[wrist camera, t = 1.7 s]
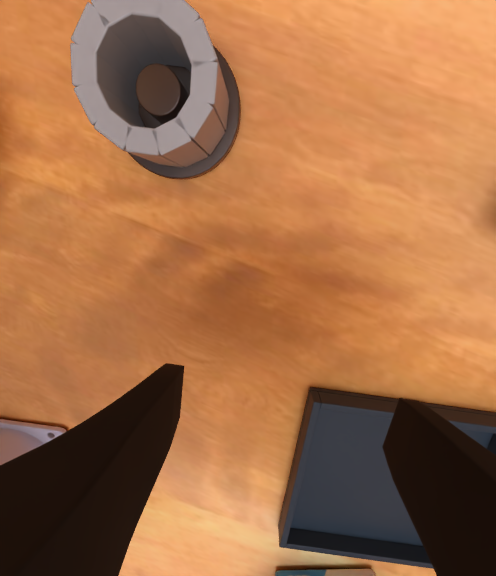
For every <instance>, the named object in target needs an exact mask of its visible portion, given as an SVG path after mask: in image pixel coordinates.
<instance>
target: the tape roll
mask: <svg viewBox="0 0 496 576" xmlns="http://www.w3.org/2000/svg"><path fill="white" fill-rule="evenodd" d="M91 2H92V4H90V3H89V2H88V3H87V5H86V7H85V9H84V11H83V13H82V15H81V18H80V20H79V22H78V24H77V26H76V28H75V31H74V33H73V35H72V37H71V40H72V41H73V42H74V43H71V69H72V84H73V85H74V86H75V88H74V91H75V93H76V95H77V97H78V99H79V101H80V103H81V105H82V107H83V109H84V111H85V113H86V115H87V117H88V119H89V121H90V123H91V124H92V125H94V128H95V129H96V130H97V131H98V132H100V133H101V134H102V135H104V136H105V137H106V138H107V139H109V140H110V141H111V142H113V143H114V144H115V145H116V146H118V147H119V148H120V149H122V150H124V151H127V152H129V153H131V154H134V155H137V156H139V157H142V158H144V159H147V160H149V161H152V162H154V163H157V164H160V165H167V166H174V167H181V168H182V167H183V166H184V167H188V166H190V165H192V164H194V163H196V162H198V161H201V160H203V159H205V158H207V157H208V154H209V155H211V153H212V152H213V150H214V149H215V147H216V146H217V144H218V143H219V141H220V140H221V138H222V137H223V135H224V134H225V131H224V130H226V128H227V118H228V108H229V98H228V92H227V89H226V86H225V82H224V79H223V75H222V72H221V69H220V65H219V62H218V58H217V56H216V53H215V50H214V48H213V45H212V42H211V40H210V37H209V34H208V32H207V29H206V26H205V24H204V21H203V19H202V18H200V15H199V13H198V12H197V11H196V10H194V9H193V8H192V7H191V6H190V5H189V4H188V3H187V2H185V1H184V0H91ZM155 63H158V64H163V65H172V66H179V67H185V68H186V69H188V70H189V71H190V72H191V82H190V96H189V97H188V99H187V101H186V102H185V104H184V106H183V107H182V109H181V111H180V112H179V114H178V116H177V117H176V118H175V119H173V120H171V121H169V122H167V123H165V124H163V125H161V126H159V127H157V128H155V129H154V128H146V127H145V126H144V124H143V122H142V120H141V117H140V115H139V101H138V98H137V95H136V81H137V78H138V75H139V73H140V72H141V71H142V69H144V68H145V67H146V66H148V65H150V64H155Z"/></svg>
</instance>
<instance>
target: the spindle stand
mask: <svg viewBox="0 0 496 576" xmlns="http://www.w3.org/2000/svg"><path fill="white" fill-rule="evenodd" d="M213 48H214V50H215V53H216V56H217V58H218V62H219V65H220V69H221V72H222V75H223V79H224V82H225V86H226V89H227V92H228V98H229V108H228V118H227V128H226V130H224V131H225V134H224V135H223V137H222V138H221V140H220V141H219V143H218V144H217V146H216V147H215V149H214V150H213V152H212V153H211V155H209V154H208V157H207V158H205V159H203V160H201V161H198V162H196V163H194V164H192V165H190V166H188V167H184V166H183V167H182V168H181V167H174V166H167V165H160V164H157V163H154V162H152V161H149V160H147V159H144V158H142V157H139V156H137V155H134V154H131V153H129V152H128V153H129V154H130V155H131V156H132V157H133V159H134V160H136V161H137V162H138V163H139V164H140V165H141V166H143V167H144V168H146V169H147V170H149V171H151V172H153V173H155V174H158V175H160V176H163V177H167V178H172V179H190V178H195V177H198V176H201V175H203V174H205V173H207V172H209V171H211V170H212V169H213V168H215V167H216V166H217V165H218V164H219V163H220V162H221V161H222V160H223V159H224V158H225V157H226V155H227V154H228V153H229V151H230V149H231V148H232V146H233V144H234V141H235V139H236V136H237V133H238V129H239V124H240V113H241V108H240V98H239V92H238V87H237V84H236V81H235V77H234V75H233V73H232V71H231V68H230V67H229V65H228V63H227V61H226V60H225V58H224V57H223V56H222V55H221V53H220V52H219V51H218V50H217V49H216V48H215V47H214V46H213ZM190 82H191V72H190V71H189V70H188V69H186V68H185V67H179V66H172V65H163V64H158V63H155V64H150V65H148V66H146V67H145V68H144V69H142V71H141V72H140V73H139V75H138V78H137V81H136V95H137V98H138V101H139V115H140V117H141V120H142V122H143V124H144V126H145V127H146V128H154V129H155V128H157V127H159V126H161V125H163V124H165V123H167V122H169V121H171V120H173V119H175V118H176V117H177V116H178V114H179V112H180V111H181V109H182V107H183V106H184V104H185V102H186V101H187V99H188V97H189V96H190Z"/></svg>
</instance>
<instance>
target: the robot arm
mask: <svg viewBox="0 0 496 576" xmlns="http://www.w3.org/2000/svg"><path fill="white" fill-rule="evenodd" d="M183 374H184V366H181V365H174V364H167V363H166V364H164V365H163V366H162V367H160V368H159V369H158V370H156V371H155V372H154V373H152V374H151V375H150V376H149V377H147V378H146V379H145V380H143V381H142V382H141V383H139V384H138V385H137V386H135V387H134V388H133V389H131V390H130V391H128V392H127V393H126V394H124V395H123V396H122V397H120V398H119V399H117V400H116V401H115V402H113V403H112V404H110V405H109V406H107V407H106V408H104V409H103V410H101V411H99V412H98V413H96V414H95V415H93V416H92V417H90V418H89V419H87V420H86V421H84V422H82V423H81V424H79V425H77V426H75V427H74V428H72V429H70V430H69V431H66V430H65V429H64V428H61V427H54V426H47V425H40V424H33V423H26V422H19V421H11V420H4V419H0V576H118V575H119V572H120V569H121V566H122V563H123V560H124V558H125V555H126V552H127V549H128V546H129V543H130V541H131V538H132V536H133V533H134V531H135V528H136V526H137V523H138V521H139V519H140V516H141V514H142V512H143V509H144V507H145V505H146V502H147V500H148V498H149V496H150V493H151V491H152V489H153V486H154V484H155V482H156V479H157V477H158V475H159V473H160V470H161V468H162V466H163V463H164V461H165V459H166V456H167V454H168V452H169V449H170V447H171V444H172V440H173V437H174V434H175V431H176V428H177V424H178V421H179V418H180V409H181V397H182V386H183ZM382 448H383V451H384V454H385V458H386V461H387V464H388V467H389V470H390V473H391V476H392V479H393V481H394V483H395V486H396V488H397V490H398V492H399V495H400V497H401V499H402V501H403V503H404V506H405V508H406V510H407V512H408V514H409V516H410V518H411V521H412V523H413V525H414V527H415V529H416V531H417V533H418V536H419V538H420V540H421V542H422V544H423V546H424V548H425V550H426V553H427V555H428V557H429V559H430V561H431V563H432V565H433V568H434V570H435V572H436V574H437V576H496V455H495V454H493V453H492V452H490V451H489V450H488V449H486V448H485V447H484V446H482V445H481V444H479V443H478V442H477V441H475V440H474V439H472V438H471V437H470V436H468V435H467V434H465V433H464V432H463V431H461V430H460V429H459V428H457V427H456V426H454V425H453V424H452V423H450V422H449V421H447V420H446V419H445V418H443V417H442V416H440V415H439V414H438V413H436V412H435V411H433V410H432V409H430V408H429V407H427V406H426V405H424V404H422V403H421V402H419V401H416V400H410V399H403V398H399V401H398V404H397V406H396V409H395V412H394V415H393V418H392V421H391V423H390V426H389V429H388V432H387V435H386V437H385V440H384V443H383V446H382Z"/></svg>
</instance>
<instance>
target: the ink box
mask: <svg viewBox="0 0 496 576" xmlns="http://www.w3.org/2000/svg"><path fill="white" fill-rule="evenodd" d="M275 576H375V572H374V571H373V570H372V569H323V570H279V571H276V572H275Z"/></svg>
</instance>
